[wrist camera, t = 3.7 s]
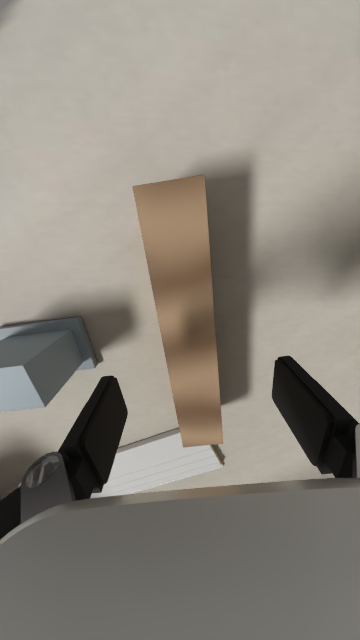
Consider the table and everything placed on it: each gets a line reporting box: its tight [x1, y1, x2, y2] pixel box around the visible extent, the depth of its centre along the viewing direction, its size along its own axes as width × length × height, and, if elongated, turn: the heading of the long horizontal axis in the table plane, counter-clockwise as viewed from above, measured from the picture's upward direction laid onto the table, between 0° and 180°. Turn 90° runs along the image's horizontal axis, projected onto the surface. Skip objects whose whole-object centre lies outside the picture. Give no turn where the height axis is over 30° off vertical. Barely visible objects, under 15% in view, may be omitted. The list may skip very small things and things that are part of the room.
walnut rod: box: [133, 175, 223, 448], centre depth 18 cm, size 24×4×5 cm, turn 8°
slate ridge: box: [0, 317, 98, 412], centre depth 17 cm, size 6×9×7 cm, turn 97°
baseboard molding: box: [17, 428, 224, 498], centre depth 28 cm, size 31×3×12 cm
